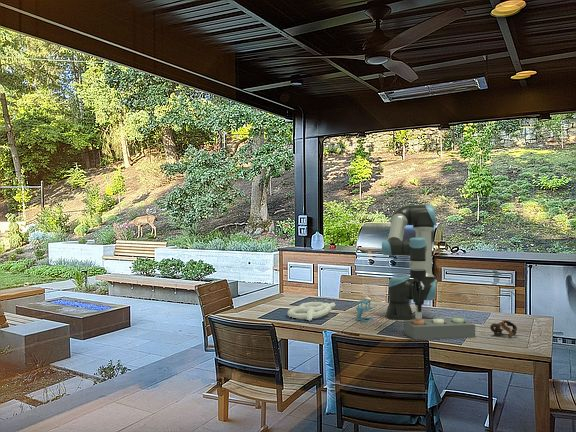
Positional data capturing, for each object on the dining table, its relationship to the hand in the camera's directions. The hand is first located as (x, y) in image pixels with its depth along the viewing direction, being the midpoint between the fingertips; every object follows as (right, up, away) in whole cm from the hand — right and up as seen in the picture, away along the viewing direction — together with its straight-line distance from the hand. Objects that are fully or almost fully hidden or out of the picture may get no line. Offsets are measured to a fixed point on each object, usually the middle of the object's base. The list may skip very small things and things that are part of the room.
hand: (418, 318), depth 226 cm
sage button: (+20, -4, +2) cm, 20 cm away
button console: (+10, -8, +1) cm, 13 cm away
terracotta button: (0, -4, 0) cm, 4 cm away
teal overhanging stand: (-21, -9, +36) cm, 43 cm away
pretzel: (-50, -10, +49) cm, 71 cm away
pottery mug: (+40, -8, -2) cm, 41 cm away
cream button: (+10, -4, +1) cm, 11 cm away
